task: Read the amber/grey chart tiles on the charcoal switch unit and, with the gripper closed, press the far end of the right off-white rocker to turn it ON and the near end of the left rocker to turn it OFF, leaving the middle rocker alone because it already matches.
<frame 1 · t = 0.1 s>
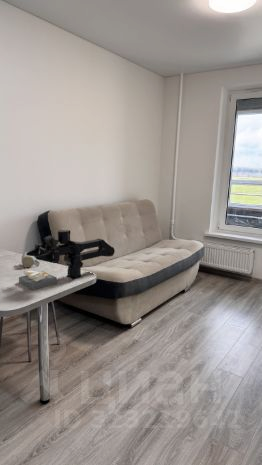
hand: (31, 256, 156), 17 cm above the table, tool horizontal, fingers open, 9 cm apart
rocker a: (29, 273, 168), point 5 cm above the table, hinge at -10.0°
switch unit: (38, 282, 167), on the table
ceramic mug: (30, 265, 195), on the table
rocker b: (34, 275, 165), point 5 cm above the table, hinge at 10.0°
rocker c: (38, 277, 162), point 5 cm above the table, hinge at 10.0°
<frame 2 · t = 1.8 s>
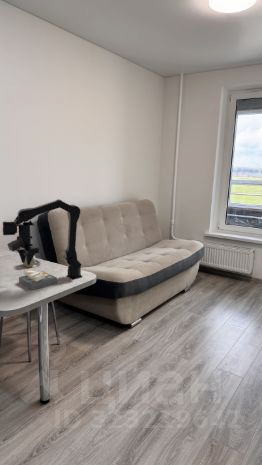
hand: (25, 263, 165), 10 cm above the table, tool pointing down, fingers open, 5 cm apart
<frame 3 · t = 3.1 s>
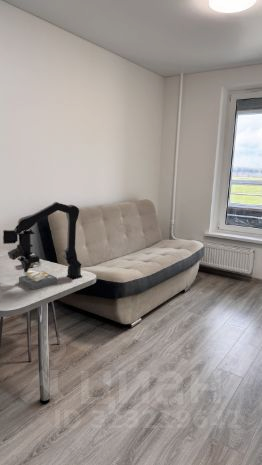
hand: (25, 272, 166), 6 cm above the table, tool pointing down, fingers closed, pressing on rocker a
rocker a: (29, 273, 168), point 5 cm above the table, hinge at -9.7°, touching gripper
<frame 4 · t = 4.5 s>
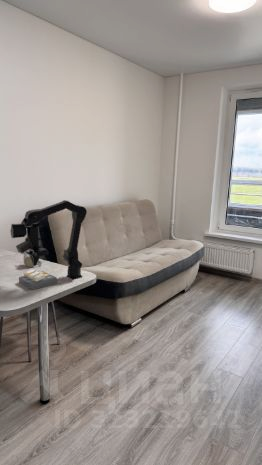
hand: (34, 265, 164), 10 cm above the table, tool pointing down, fingers closed
rocker a: (29, 273, 168), point 5 cm above the table, hinge at 7.9°
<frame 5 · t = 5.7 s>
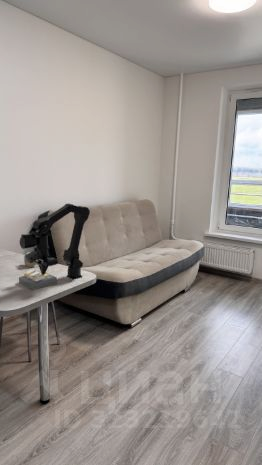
hand: (43, 274, 163), 5 cm above the table, tool pointing down, fingers closed, pressing on rocker c
rocker a: (29, 273, 168), point 5 cm above the table, hinge at 16.9°, touching switch unit
rocker c: (38, 277, 162), point 5 cm above the table, hinge at 9.2°, touching gripper
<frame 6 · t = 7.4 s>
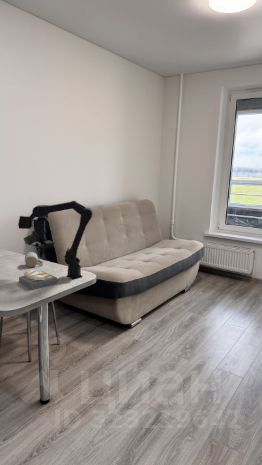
hand: (40, 257, 174), 11 cm above the table, tool pointing down, fingers closed
rocker a: (29, 273, 168), point 5 cm above the table, hinge at 12.5°
rocker c: (38, 277, 162), point 5 cm above the table, hinge at -15.0°
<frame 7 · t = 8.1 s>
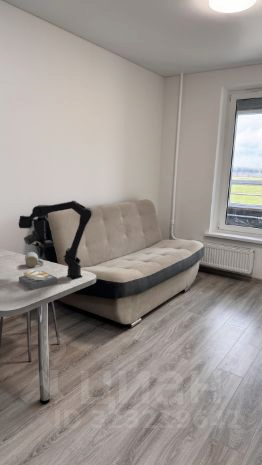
hand: (40, 256, 175), 11 cm above the table, tool pointing down, fingers closed
rocker a: (29, 273, 168), point 5 cm above the table, hinge at 10.9°
rocker c: (38, 277, 162), point 5 cm above the table, hinge at -15.4°
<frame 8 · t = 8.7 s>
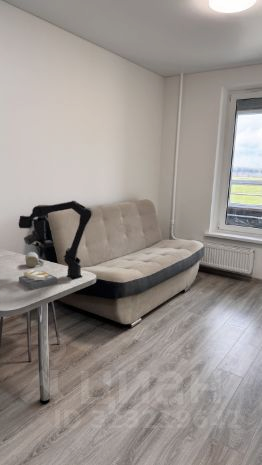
hand: (40, 256, 175), 11 cm above the table, tool pointing down, fingers closed
rocker a: (29, 273, 168), point 5 cm above the table, hinge at 9.7°
rocker c: (38, 277, 162), point 5 cm above the table, hinge at -12.2°
at the end: rocker a at +9° (first picture: -10°); rocker b at +10° (first picture: +10°); rocker c at -11° (first picture: +10°) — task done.
